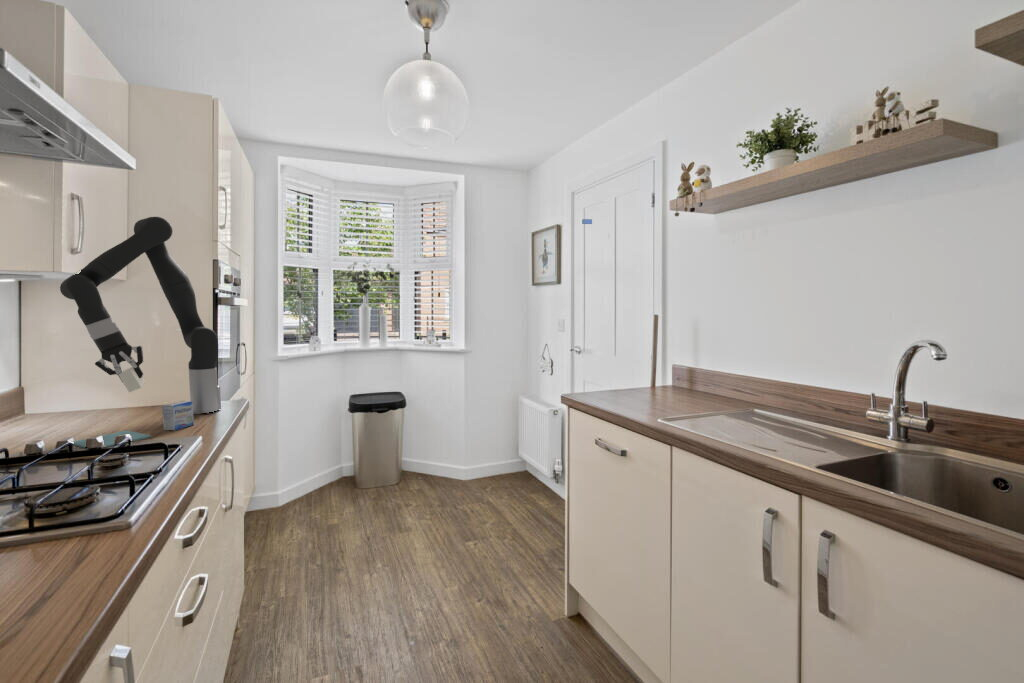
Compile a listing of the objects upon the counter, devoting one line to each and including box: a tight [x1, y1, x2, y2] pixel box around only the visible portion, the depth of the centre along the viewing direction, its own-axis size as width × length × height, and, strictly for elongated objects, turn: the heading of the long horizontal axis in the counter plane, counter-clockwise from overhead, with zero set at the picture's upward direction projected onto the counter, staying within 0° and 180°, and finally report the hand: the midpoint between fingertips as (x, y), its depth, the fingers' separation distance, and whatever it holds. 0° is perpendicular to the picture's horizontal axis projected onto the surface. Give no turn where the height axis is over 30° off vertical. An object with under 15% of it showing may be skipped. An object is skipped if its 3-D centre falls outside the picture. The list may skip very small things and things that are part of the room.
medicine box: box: [161, 400, 194, 432], centre depth 165 cm, size 8×4×9 cm, turn 168°
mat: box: [72, 429, 152, 449], centre depth 150 cm, size 15×14×1 cm
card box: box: [118, 366, 146, 393], centre depth 163 cm, size 4×6×10 cm
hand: (134, 380), depth 164 cm, fingers closed on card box, 3 cm apart
